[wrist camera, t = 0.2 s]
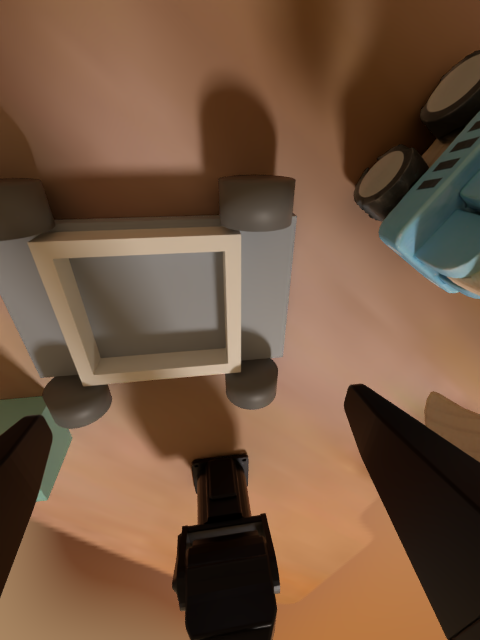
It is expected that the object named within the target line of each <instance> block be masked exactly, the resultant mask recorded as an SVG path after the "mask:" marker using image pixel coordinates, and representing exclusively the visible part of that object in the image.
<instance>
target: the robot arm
mask: <svg viewBox="0 0 480 640" xmlns="http://www.w3.org/2000/svg"><path fill="white" fill-rule="evenodd" d="M344 409H345V413H346V415H347V418H348V421H349V424H350V427H351V430H352V432H353V435H354V438H355V441H356V444H357V447H358V449H359V452H360V455H361V457H362V459H363V462H364V464H365V466H366V468H367V470H368V472H369V475H370V477H371V479H372V481H373V483H374V485H375V487H376V489H377V492H378V494H379V496H380V498H381V500H382V502H383V504H384V506H385V508H386V510H387V513H388V515H389V517H390V519H391V521H392V523H393V525H394V527H395V530H396V532H397V534H398V536H399V538H400V540H401V542H402V544H403V547H404V548H405V551H406V553H407V555H408V557H409V559H410V561H411V564H412V566H413V568H414V570H415V572H416V574H417V576H418V578H419V580H420V583H421V585H422V587H423V589H424V591H425V593H426V595H427V597H428V599H429V602H430V604H431V606H432V608H433V610H434V612H435V614H436V616H437V619H438V621H439V622H440V625H441V627H442V629H443V631H444V633H445V636H446V637H447V639H448V640H480V462H479V461H477V460H476V459H474V458H473V457H471V456H470V455H468V454H467V453H465V452H464V451H462V450H461V449H459V448H458V447H456V446H455V445H453V444H452V443H450V442H449V441H447V440H446V439H444V438H443V437H441V436H440V435H439V434H437V433H436V432H434V431H433V430H431V429H430V428H428V427H427V426H425V425H424V424H422V423H421V422H419V421H418V420H416V419H415V418H413V417H412V416H410V415H409V414H407V413H406V412H404V411H403V410H401V409H400V408H398V407H397V406H395V405H394V404H392V403H391V402H389V401H388V400H386V399H385V398H383V397H382V396H380V395H379V394H378V393H376V392H375V391H373V390H372V389H370V388H369V387H367V386H366V385H364V384H353V385H350V386H349V387H348V390H347V394H346V397H345V401H344ZM52 441H53V434H52V431H51V429H50V427H49V425H48V424H47V422H46V420H45V418H44V416H43V415H40V414H38V415H27V416H24V417H23V418H21V419H20V420H19V421H18V422H16V423H15V424H14V425H13V426H11V427H10V428H9V429H8V430H6V431H5V432H4V433H3V434H1V435H0V596H1V594H2V591H3V589H4V586H5V583H6V581H7V578H8V575H9V573H10V570H11V567H12V564H13V562H14V559H15V556H16V554H17V551H18V548H19V546H20V543H21V541H22V538H23V535H24V532H25V530H26V527H27V525H28V522H29V519H30V517H31V514H32V511H33V509H34V506H35V503H36V500H37V497H38V494H39V491H40V487H41V483H42V479H43V476H44V472H45V468H46V464H47V460H48V456H49V453H50V449H51V445H52ZM248 460H249V459H248V455H246V454H242V455H234V456H226V457H218V458H210V459H201V460H195V461H193V462H192V471H193V478H194V484H195V491H196V494H197V503H198V525H194V526H188V525H187V526H182V533H181V534H180V535H178V545H177V558H176V564H175V570H174V576H173V582H172V588H173V590H174V591H175V592H176V594H177V597H178V601H179V606H180V611H185V625H186V630H187V632H188V635H189V637H190V640H273V636H274V631H275V622H276V613H277V605H276V599H275V594H278V593H280V582H279V573H278V567H277V561H276V556H275V551H274V547H273V543H272V539H271V534H270V530H269V526H268V522H267V518H266V514H265V513H263V514H260V515H257V516H251V511H250V504H249V497H248V491H247V486H248Z"/></svg>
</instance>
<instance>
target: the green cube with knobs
mask: <svg viewBox="0 0 480 640" xmlns="http://www.w3.org/2000/svg"><path fill="white" fill-rule="evenodd" d="M38 414H40V415H43V416H44V418H45V420H46V422H47V424H48V425H49V427H50V429H51V431H52V434H53V441H52V445H51V449H50V453H49V456H48V460H47V464H46V468H45V472H44V476H43V479H42V483H41V487H40V491H39V494H38V497H37V500H36V502H37V501H45V500H48V498H49V495H50V493H51V490H52V488H53V485H54V483H55V480H56V478H57V475H58V473H59V470H60V468H61V465H62V463H63V460H64V458H65V455H66V453H67V450H68V448H69V445H70V443H71V440H72V436H71V434H70V432H69V430H68V428H63V427H60V426H58V425H57V424H56V423H55V421H54V419H53V418H52V416H51V414H50V412H49V410H48V408H47V406H46V404H45V402H44V400H43V396H38V397H28V398H17V399H6V400H0V435H1V434H3V433H4V432H5V431H6V430H8V429H9V428H10V427H11V426H13V425H14V424H15V423H16V422H18V421H19V420H20V419H21V418H23V417H24V416H27V415H38Z"/></svg>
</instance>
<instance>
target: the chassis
mask: <svg viewBox="0 0 480 640" xmlns="http://www.w3.org/2000/svg"><path fill="white" fill-rule="evenodd" d="M218 180H219V209H220V215H202V216H168V217H134V218H101V219H67V220H54V219H53V216H52V213H51V210H50V206H49V203H48V200H47V197H46V194H45V191H44V188H43V185H42V182H41V180H38V179H26V178H12V179H0V295H1V297H2V299H3V301H4V303H5V305H6V307H7V309H8V312H9V314H10V316H11V318H12V320H13V322H14V324H15V326H16V328H17V330H18V332H19V334H20V336H21V338H22V340H23V342H24V345H25V347H26V349H27V351H28V353H29V355H30V357H31V359H32V361H33V363H34V365H35V367H36V369H37V371H38V373H39V375H40V378H44V377H55V378H53V379H52V380H51V381H50V382H49V383H48V384H47V385H46V387H45V388H44V390H43V395H42V396H43V400H44V402H45V404H46V406H47V408H48V410H49V412H50V414H51V416H52V418H53V419H54V421H55V423H56V424H57V425H58V426H60V427H63V428H68V429H73V428H80V427H83V426H86V425H89V424H91V423H93V422H95V421H96V420H98V419H99V418H101V417H102V416H103V415H104V414H105V413H106V412H107V410H108V409H109V407H110V405H111V402H112V396H111V393H110V390H109V387H108V384H115V383H126V382H138V381H149V380H160V379H171V378H182V377H193V376H204V375H215V374H225V380H226V395H227V397H228V399H229V400H230V401H231V402H232V403H233V404H234V405H236V406H238V407H240V408H243V409H249V410H254V409H260V408H263V407H265V406H267V405H269V404H270V403H271V402H272V401H273V400H274V398H275V395H276V387H277V376H278V368H277V365H276V364H275V362H274V361H273V360H272V359H270V358H278V357H283V350H284V340H285V330H286V320H287V310H288V300H289V290H290V280H291V270H292V260H293V250H294V240H295V230H296V220H297V216H296V215H295V214H294V213H292V212H293V201H294V190H295V179H293V178H290V177H283V176H273V175H238V176H228V177H222V178H219V179H218Z"/></svg>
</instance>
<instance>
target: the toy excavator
mask: <svg viewBox="0 0 480 640" xmlns="http://www.w3.org/2000/svg"><path fill="white" fill-rule="evenodd" d="M420 119H421V121H422V122H423V123H424V124H425V125H426V127H427V128H428V129H429V130H430V131H431V132H432V133H433V134H434V135H435V137H436V138H437V139H436V140H435V141H434V143H433V144H432V145H431V146H430V147H429V148H428V150H427V151H426V152H425V153H424V154H423V155H422V156H421V155H420V154H419V153H418V152H417V151H416V149H414V148H413V147H412V148H408V147H406V146H404V145H400V144H399V145H398V146H395V147H393V148H392V149H390V150H389V151H388V152H386V153H385V154H383V155H382V156H380V157H378V158H377V160H379V161H378V162H377V163H375V165H374V166H373V167H372V168H371V169H370V170H369V171H368V169H369V168H367V169H366V170H365V172H364V173H363V174H362V176H361V178H360V180H359V182H358V183H357V185H356V188H355V191H354V200H355V202H356V203H357V205H359V206H360V208H361V209H362V210H364V211H365V213H367V214H369V217H370V218H372V219H373V218H374V219H375V220H379V221H382V224H381V226H380V229H379V237H380V239H381V240H382V241H383V242H384V243H385V244H386V245H387V246H388V247H390V248H391V249H392V250H393V251H394V252H396V253H397V254H398V255H399V256H400V257H402V258H403V259H404V260H405V261H406V262H408V263H409V264H410V265H411V266H412V267H413V268H415V269H416V270H417V271H418V272H419V273H421V274H422V275H423V276H424V277H426V278H427V279H428V280H430V281H431V282H432V283H434V284H435V285H437V286H439V287H440V288H442V289H443V290H445V291H446V292H448V293H457V292H461V293H462V294H464V295H466V296H469V297H472V298H476V299H480V50H478V51H475V52H474V53H472V54H470V55H468V56H466V57H465V58H464V59H463V60H461V61H460V62H459V63H458V64H456V65H455V66H454V67H453V68H452V69H451V70H450V71H449V72H448V73H447V74H445V75H444V76H443V77H442V79H441V81H440V83H439V85H438V86H437V87H436V89H435V90H434V91H433V93H432V94H431V96H430V98H429V100H428V101H427V103H426V104H425V106H424V107H422V110H421V112H420ZM424 413H425V424H426V426H427V427H428V428H430V429H431V430H433V431H434V432H436V433H437V434H439V435H440V436H441V437H443V438H444V439H446V440H447V441H449V442H450V443H452V444H453V445H455V446H456V447H458V448H459V449H461V450H462V451H464V452H465V453H467V454H468V455H470V456H471V457H473V458H474V459H476V460H477V461H479V462H480V414H477V413H475V412H472V411H470V410H467V409H465V408H463V407H461V406H459V405H458V404H456V403H454V402H453V401H451V400H449V399H448V398H446V397H444V396H443V395H441V394H439V393H437V392H434V391H433V392H431V393H430V395H429V396H428V398H427V401H426V406H425V410H424Z"/></svg>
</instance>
